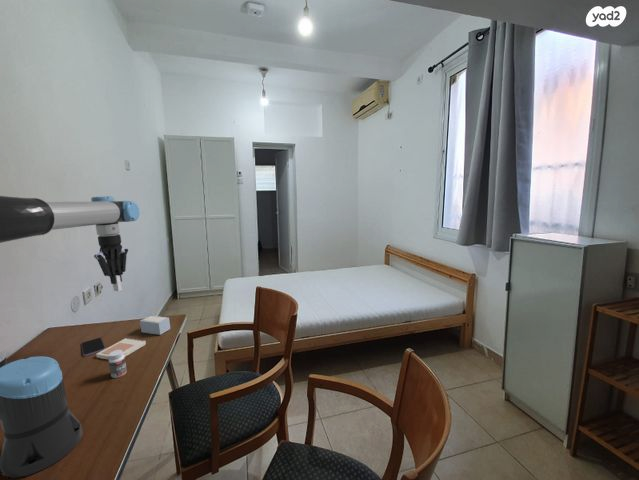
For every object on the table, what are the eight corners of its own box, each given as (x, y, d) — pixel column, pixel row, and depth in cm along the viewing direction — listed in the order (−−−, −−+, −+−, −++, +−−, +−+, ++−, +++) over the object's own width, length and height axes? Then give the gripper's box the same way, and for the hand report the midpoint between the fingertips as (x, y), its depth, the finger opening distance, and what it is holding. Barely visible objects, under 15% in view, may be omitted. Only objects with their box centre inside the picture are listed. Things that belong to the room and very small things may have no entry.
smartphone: (101, 337, 132) (105, 348, 121) (101, 339, 132) (105, 350, 121) (80, 343, 127) (83, 355, 116) (81, 345, 127) (83, 357, 116)
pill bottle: (119, 378, 102) (115, 357, 100) (107, 377, 103) (104, 355, 101) (130, 370, 106) (126, 349, 105) (119, 369, 107) (115, 348, 106)
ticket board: (117, 361, 113) (116, 357, 112) (96, 357, 116) (96, 353, 115) (145, 344, 125) (145, 340, 124) (126, 341, 128) (125, 337, 128)
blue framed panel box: (160, 334, 132) (158, 323, 131) (141, 332, 135) (139, 320, 134) (170, 328, 138) (168, 317, 137) (152, 326, 141) (150, 315, 140)
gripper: (99, 237, 110) (109, 296, 114) (130, 232, 122) (138, 286, 126) (85, 237, 112) (95, 295, 116) (117, 232, 124) (125, 284, 128)
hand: (117, 290), depth 121 cm, fingers closed
